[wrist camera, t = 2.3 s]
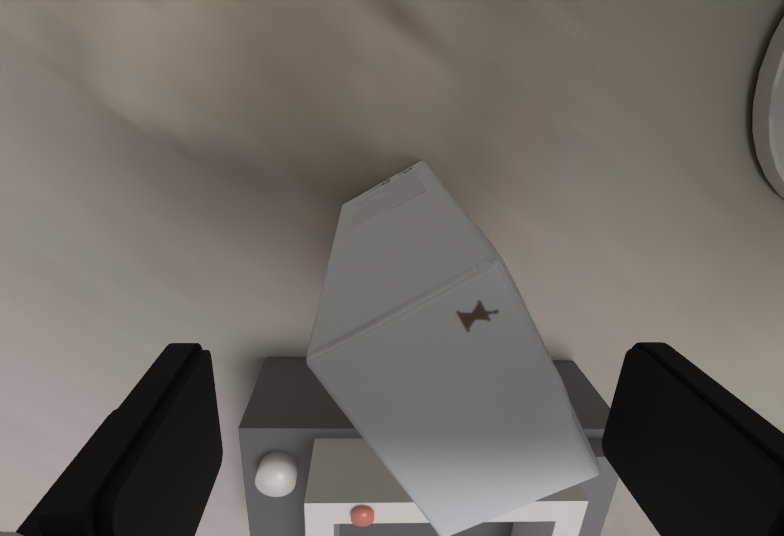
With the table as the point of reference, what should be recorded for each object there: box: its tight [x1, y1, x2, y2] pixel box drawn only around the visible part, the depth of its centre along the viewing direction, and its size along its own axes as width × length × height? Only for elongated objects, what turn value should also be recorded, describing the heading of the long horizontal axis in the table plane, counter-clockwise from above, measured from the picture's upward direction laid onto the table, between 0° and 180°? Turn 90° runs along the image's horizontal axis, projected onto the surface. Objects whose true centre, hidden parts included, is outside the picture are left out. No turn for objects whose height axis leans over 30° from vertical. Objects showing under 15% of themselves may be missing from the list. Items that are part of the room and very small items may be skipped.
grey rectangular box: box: [238, 357, 619, 536], centre depth 20 cm, size 16×11×8 cm
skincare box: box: [306, 160, 601, 536], centre depth 14 cm, size 6×4×12 cm
